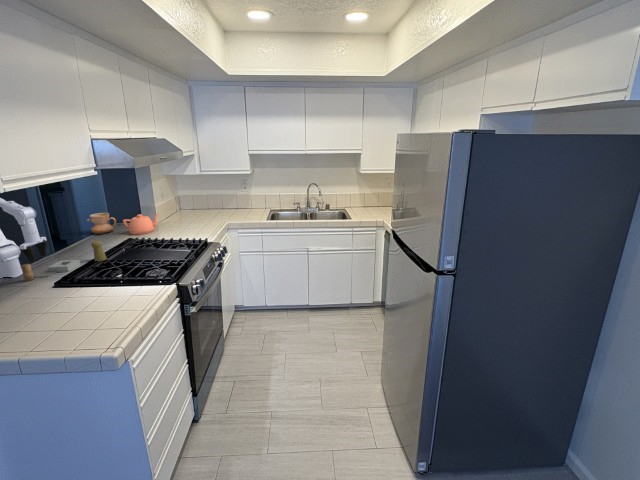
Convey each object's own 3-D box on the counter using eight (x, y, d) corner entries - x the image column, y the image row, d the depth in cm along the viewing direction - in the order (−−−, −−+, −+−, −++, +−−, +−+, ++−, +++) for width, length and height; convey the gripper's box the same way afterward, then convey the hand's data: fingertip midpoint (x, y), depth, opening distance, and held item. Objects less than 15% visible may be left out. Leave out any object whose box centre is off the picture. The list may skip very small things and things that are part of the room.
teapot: (163, 227, 260) (160, 210, 256) (161, 232, 244) (157, 215, 240) (127, 231, 252) (124, 214, 248) (122, 237, 237) (118, 218, 233)
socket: (49, 272, 175) (47, 267, 174) (62, 265, 185) (60, 260, 184) (68, 271, 176) (67, 266, 175) (80, 264, 185) (79, 259, 184)
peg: (23, 281, 165) (18, 266, 162) (29, 278, 168) (24, 264, 166) (30, 281, 165) (26, 266, 162) (36, 278, 168) (31, 263, 166)
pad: (32, 277, 169) (32, 276, 169) (44, 271, 177) (43, 270, 177) (48, 276, 170) (48, 276, 170) (59, 270, 177) (59, 270, 177)
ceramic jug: (87, 236, 241) (83, 217, 237) (93, 231, 254) (89, 213, 250) (115, 234, 247) (112, 215, 243) (119, 229, 260) (116, 211, 256)
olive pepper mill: (104, 257, 196) (100, 239, 193) (108, 259, 193) (104, 241, 189) (92, 260, 192) (88, 241, 189) (96, 262, 188) (92, 243, 185)
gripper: (27, 236, 156) (35, 263, 160) (49, 228, 169) (56, 253, 174) (11, 236, 155) (20, 264, 159) (34, 228, 169) (42, 253, 173)
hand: (38, 258), depth 166 cm, fingers open, 7 cm apart
